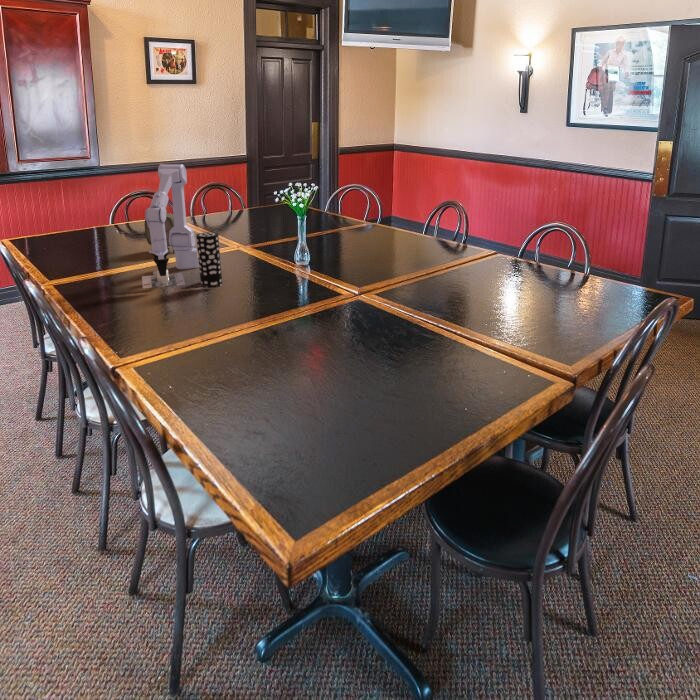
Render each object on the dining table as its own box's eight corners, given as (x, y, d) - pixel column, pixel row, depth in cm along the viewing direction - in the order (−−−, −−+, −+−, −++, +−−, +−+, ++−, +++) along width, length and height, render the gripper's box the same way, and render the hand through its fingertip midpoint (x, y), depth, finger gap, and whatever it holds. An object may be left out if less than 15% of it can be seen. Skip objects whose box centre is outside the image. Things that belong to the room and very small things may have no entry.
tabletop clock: (147, 253, 310) (140, 199, 300) (156, 249, 318) (149, 196, 309) (176, 254, 307) (170, 200, 298) (184, 250, 316) (178, 197, 306)
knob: (170, 281, 261) (169, 268, 259) (167, 284, 257) (165, 271, 255) (156, 281, 262) (155, 268, 260) (152, 284, 258) (151, 271, 256)
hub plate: (182, 275, 273) (181, 269, 272) (185, 286, 257) (185, 280, 257) (142, 278, 269) (141, 272, 268) (143, 290, 253) (142, 284, 252)
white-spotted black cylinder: (226, 282, 262) (222, 233, 255) (215, 288, 255) (211, 237, 247) (207, 281, 265) (203, 231, 257) (196, 286, 257) (191, 236, 250)
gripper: (147, 235, 258) (151, 269, 263) (148, 243, 245) (152, 279, 250) (165, 234, 260) (169, 267, 265) (167, 242, 247) (171, 277, 252)
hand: (162, 273), depth 258 cm, fingers open, 7 cm apart
